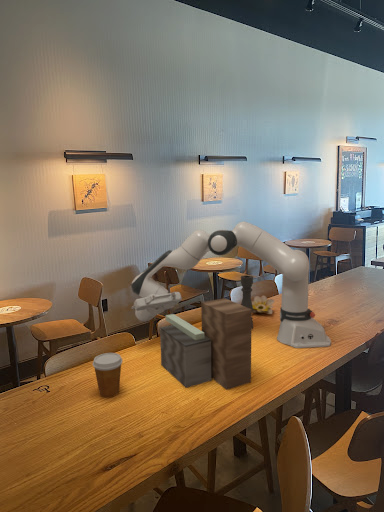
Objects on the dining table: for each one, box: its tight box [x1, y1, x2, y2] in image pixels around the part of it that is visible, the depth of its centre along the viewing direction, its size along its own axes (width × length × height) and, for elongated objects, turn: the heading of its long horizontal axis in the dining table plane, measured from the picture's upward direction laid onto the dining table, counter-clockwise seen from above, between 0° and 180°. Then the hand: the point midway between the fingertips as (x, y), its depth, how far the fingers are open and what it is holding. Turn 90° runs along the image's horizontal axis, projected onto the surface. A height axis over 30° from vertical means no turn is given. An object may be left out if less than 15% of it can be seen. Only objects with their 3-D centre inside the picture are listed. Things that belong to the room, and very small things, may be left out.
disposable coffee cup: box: [92, 352, 123, 398], centre depth 125 cm, size 10×10×12 cm
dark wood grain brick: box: [159, 324, 212, 388], centre depth 138 cm, size 20×10×15 cm, turn 29°
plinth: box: [200, 297, 253, 391], centre depth 134 cm, size 16×10×26 cm, turn 29°
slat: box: [165, 313, 205, 340], centre depth 141 cm, size 24×4×2 cm, turn 29°
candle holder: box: [240, 274, 254, 330], centre depth 182 cm, size 6×6×25 cm
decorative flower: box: [251, 295, 276, 315], centre depth 204 cm, size 15×11×10 cm
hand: (164, 295), depth 155 cm, fingers open, 8 cm apart
